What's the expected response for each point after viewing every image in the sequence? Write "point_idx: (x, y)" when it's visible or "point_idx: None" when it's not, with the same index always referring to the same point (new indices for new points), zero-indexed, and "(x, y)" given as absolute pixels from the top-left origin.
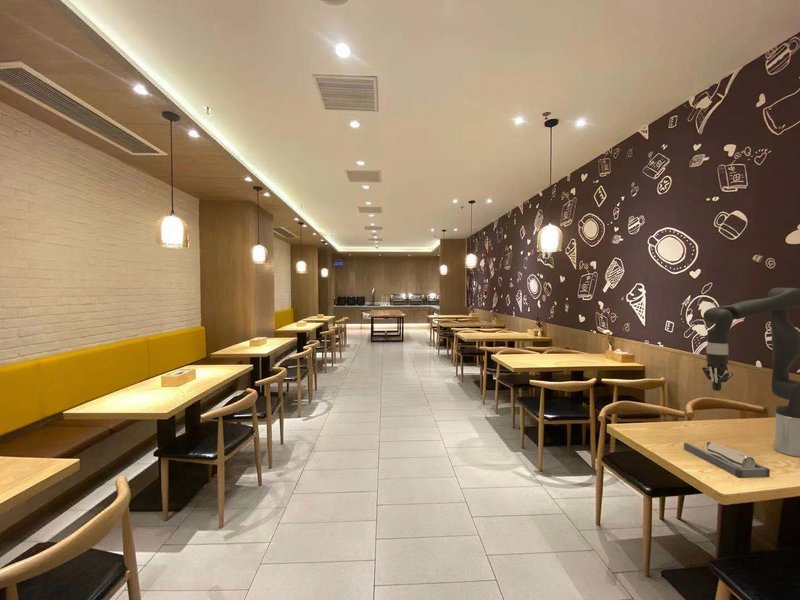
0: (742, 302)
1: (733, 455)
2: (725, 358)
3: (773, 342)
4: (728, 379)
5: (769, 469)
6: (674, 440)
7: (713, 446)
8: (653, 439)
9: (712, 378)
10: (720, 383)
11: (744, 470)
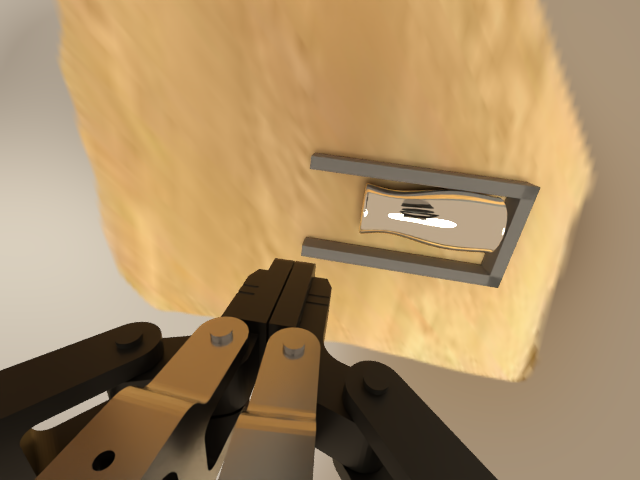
0: None
1: (457, 249)
2: None
3: None
4: (472, 453)
5: (539, 188)
6: (242, 212)
7: (376, 231)
8: (231, 269)
9: (208, 442)
10: (321, 353)
11: (503, 272)
